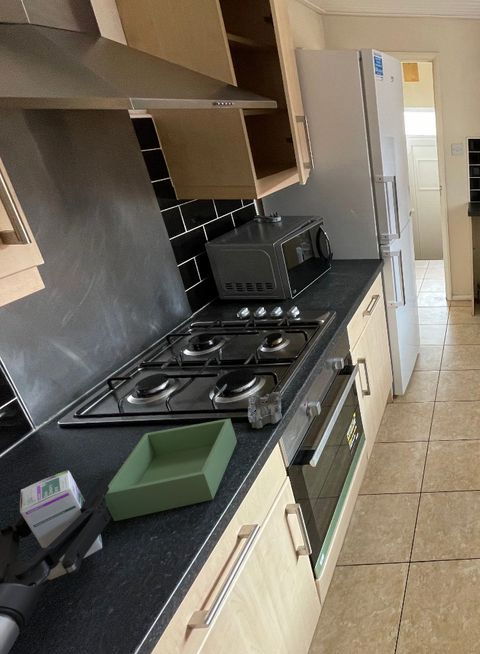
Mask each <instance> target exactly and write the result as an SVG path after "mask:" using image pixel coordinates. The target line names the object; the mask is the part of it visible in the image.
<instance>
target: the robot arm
mask: <svg viewBox="0 0 480 654" xmlns="http://www.w3.org/2000/svg"><path fill="white" fill-rule="evenodd" d="M108 485H109V484H108V483H107V481H106V479H105V477H102V478H98V480H97V481H96V483H95V485H94V486H93V488H92V489H91V491H90V493H89V494H88V496H87V497H86V499H85V502H84V504H83V505H82V507H81V509H80V511H81V513H82V514H81V515H80V516H79V517H78V518H77V519H76V520H75V521H74V522H73V523H72V524H71V525H69V526H68V527H67V528H66V529H65V530H64V531H63V532H62V533H61V534H60V535H59V536H58V537H57V538H56V539H55V540H54V541H53V542H52V543H51V544H50V545H49V546H48V547H46V548H42V547H41V548H40V550H38V551H37V552H36V553H35V554H34V555H33V556H32V557H30V558H27V559H25V560H22V561H17V560H18V554H19V549H20V541H21V539H20V538H22V539H24V538H28V537H29V536H30V535H31V533H33V532H32V531H31V529H30V527H29V525H28V524H27V522H26V521H25V519H24V517H23V516H22V514H21V513H20V515H19V516H18V517H16V519H15V520H14V522H13V523H12V524H8V525H7V524H6V525H5V526H3V527H1V529H0V654H9V652H10V651H11V650H12V647H14V644H15V642H16V641H17V639H18V637H19V634H20V633H21V632H22V631H23V629H24V628H25V626H26V624H27V623H28V621H29V619H30V617H31V616H32V614H33V613H34V611H35V609H36V607H37V606H38V602H39V599H40V597H41V595H42V592H43V590H45V589H46V587H48V586H49V585H50V584H51V582H52V581H53V580H54V579H56V578H59V577H61V576H63V575H67V576H68V577H72V576H75V575H76V574H77V573H79V571H80V569H81V566H82V565H81V564H82V561H83V559H85V558H84V556H85V555H86V553H87V552H88V551H89V549H90V548H91V546H92V545H93V543H94V542H95V540H96V539H97V538H98V536H99V535H100V534H101V533H102V532H103V530H104V529H105V528H106V526H107V525H108V523H109V522H110V520H111V517H110V516H109V514H108V512H107V509H106V507H105V505H106V498H105V496H106V494H107V492H108V490H109V487H108ZM64 554H65V555H64ZM63 555H64V557H62V556H63ZM61 557H62V558H61Z"/></svg>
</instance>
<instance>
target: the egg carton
mask: <svg viewBox="0 0 480 654" xmlns="http://www.w3.org/2000/svg"><path fill="white" fill-rule="evenodd" d="M272 397H274V398H272ZM270 398H272V399H270ZM269 399H270V400H269ZM268 400H269V401H268ZM258 401H260V402H259V403H256V402H258ZM266 401H268V402H267V403H261V402H266ZM255 403H256V404H255ZM255 410H256V412H254V411H255ZM252 412H254V413H252ZM247 418H248V421H249V424H251V428H252V429H261V428H263V427H264V426H265V425H266V424H277V423H278V422H279V421H280V420H282V419H283V415H282V394H281V391H276V392H274V391H273V392H272V393H266V394H265V396H263V397H261V396H260V395H257V394H256V395H251V394H250V395H249V396H248V407H247Z"/></svg>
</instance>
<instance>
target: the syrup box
mask: <svg viewBox="0 0 480 654" xmlns="http://www.w3.org/2000/svg"><path fill="white" fill-rule="evenodd" d="M85 501H86V499H85V498H84V495H83V494H82V493H81V490H80V488H79V486H78V485H77V482H76V481H75V479H74V478H73V475H72V473H71V472H70V470H64V471H61V472H59V473H56V474H53V475H50V476H48V477H46V478H44V479H40V480H39V481H36V482H35V483H33V484H31V485H28V486H26V487H24V488H22V489H20V499H19V512H20V515H21V514H22V516H23V517H24V519H25V521H26V522H27V524H28V525H29V527H30V529H31V531H32V532H31V533H32V534H33V535H34V537H35V538H36V540H37V542H38V544H39V545H40V547H41V549H42V548H46V547H48V546H49V545H50V544H51V543H52V542H53V541H54V540H55V539H56V538H57V537H58V536H59V535H60V534H61V533H62V532H63V531H64V530H65V529H66V528H67V527H68V526H69V525H71V524H72V523H73V522H74V521H75V520H76V519H77V518H78V517H79V516H80V515H81V514H82V513H81V511H80V509H81V507H82V505H83V504H84V502H85ZM102 549H103V541H102V535H101V533H100V535H99V536H98V538H97V539H96V540H95V542H94V543H93V545H92V546H91V548H90V549H89V551H88V552H87V553H86V555H85V556H84V558H83V559H86V558H87V557H89V556H91V555H93V554H94V553H96V552H98V551H100V550H102ZM64 555H65V554H64ZM64 555H63V556H62V557H64ZM62 557H61V558H62Z"/></svg>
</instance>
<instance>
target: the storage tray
mask: <svg viewBox="0 0 480 654" xmlns="http://www.w3.org/2000/svg"><path fill="white" fill-rule="evenodd" d="M237 443H238V441H237V437H236V434H235V430H234V427H233V424H232V420H231V418H225V419H219V420H214V421H208V422H207V421H206V422H202V423H196V424H191V425H185V426H179V427H173V428H168V429H163V430H157V431H150V432H146V433H144V434H143V436H142V437H141V438H140V440H139V442H138V443H137V444H136V445H135V447H134V449H133V450H132V451H131V453H130V454H129V455H128V457H127V458H126V460H125V461H124V462H123V464H122V466H121V467H120V468H119V469H118V471H117V472H116V474H115V475H114V477H113V478H112V479H111V481H110V482H109V484H107V485H108V487H109V490H108V492H107V494H106V496H105V498H106V503H105V505H106V508H107V509H108V511H109V514H110V515H111V517H112V519H113V521H114V522H118V521H123V520H126V519H131V518H135V517H140V516H144V515H145V516H146V515H149V514H154V513H159V512H163V511H167V510H172V509H177V508H181V507H186V506H190V505H195V504H198V503H199V504H200V503H203V502H208V501H212V500H214V498H215V496H216V494H217V491H218V489H219V487H220V485H221V481H222V479H223V477H224V475H225V472H226V470H227V467H228V464H229V462H230V460H231V458H232V455H233V452H234V451H235V448H236V445H237Z"/></svg>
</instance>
